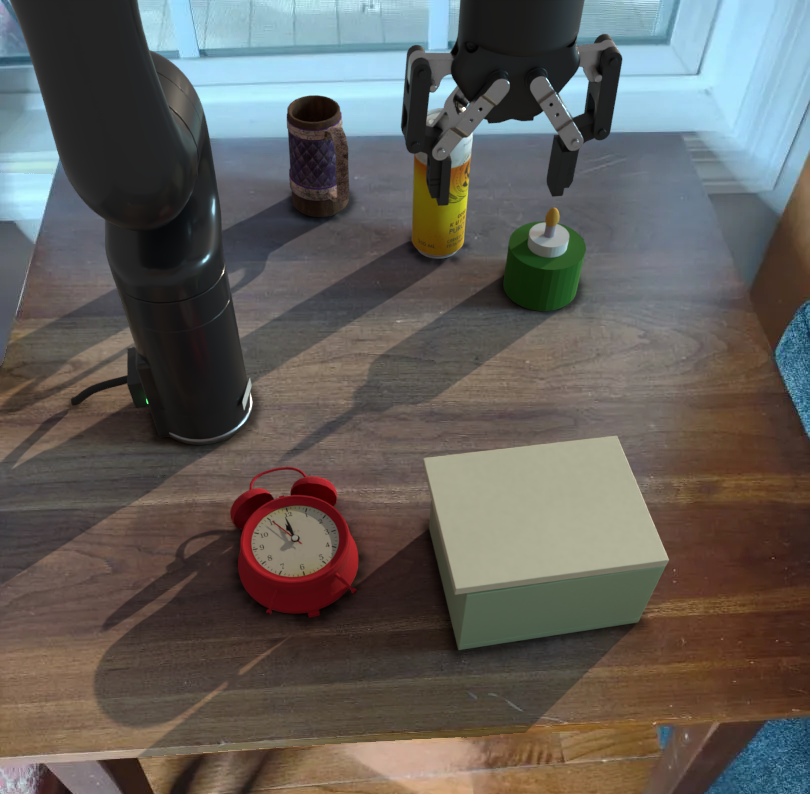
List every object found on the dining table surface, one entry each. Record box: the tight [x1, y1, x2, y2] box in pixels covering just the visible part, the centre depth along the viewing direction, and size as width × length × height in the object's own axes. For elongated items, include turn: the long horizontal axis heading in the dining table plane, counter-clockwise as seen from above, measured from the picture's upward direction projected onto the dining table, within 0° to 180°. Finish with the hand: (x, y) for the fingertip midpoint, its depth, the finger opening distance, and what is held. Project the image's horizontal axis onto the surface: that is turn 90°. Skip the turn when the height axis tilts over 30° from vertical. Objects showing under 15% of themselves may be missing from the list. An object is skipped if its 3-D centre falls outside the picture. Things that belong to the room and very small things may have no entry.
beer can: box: [411, 107, 474, 260], centre depth 95 cm, size 6×6×15 cm
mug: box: [286, 94, 350, 218], centre depth 100 cm, size 10×7×12 cm
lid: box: [422, 435, 670, 595], centre depth 68 cm, size 16×13×1 cm
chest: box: [428, 499, 666, 651], centre depth 72 cm, size 16×13×9 cm
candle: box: [502, 207, 587, 312], centre depth 93 cm, size 8×8×10 cm
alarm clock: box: [229, 466, 359, 619], centre depth 75 cm, size 10×6×15 cm
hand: (497, 194), depth 63 cm, fingers open, 8 cm apart
